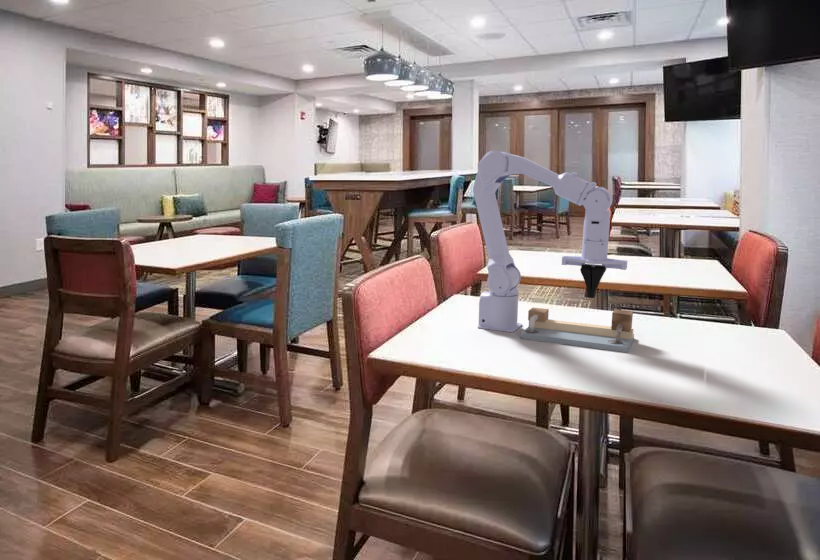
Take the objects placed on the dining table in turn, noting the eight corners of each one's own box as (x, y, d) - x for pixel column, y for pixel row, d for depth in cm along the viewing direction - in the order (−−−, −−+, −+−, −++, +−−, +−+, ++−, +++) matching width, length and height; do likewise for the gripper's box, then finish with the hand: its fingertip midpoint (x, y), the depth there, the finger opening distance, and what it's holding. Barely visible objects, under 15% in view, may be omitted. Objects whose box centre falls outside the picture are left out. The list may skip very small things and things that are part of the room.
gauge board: (520, 338, 136) (521, 316, 135) (534, 326, 146) (534, 305, 145) (627, 352, 125) (629, 328, 124) (633, 338, 136) (635, 316, 135)
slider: (608, 340, 129) (609, 316, 128) (613, 332, 136) (614, 309, 135) (627, 343, 127) (628, 318, 126) (631, 334, 134) (632, 311, 133)
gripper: (560, 239, 133) (556, 296, 135) (626, 243, 126) (621, 303, 129) (566, 236, 139) (563, 291, 141) (630, 240, 132) (625, 297, 135)
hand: (591, 297), depth 135 cm, fingers closed
